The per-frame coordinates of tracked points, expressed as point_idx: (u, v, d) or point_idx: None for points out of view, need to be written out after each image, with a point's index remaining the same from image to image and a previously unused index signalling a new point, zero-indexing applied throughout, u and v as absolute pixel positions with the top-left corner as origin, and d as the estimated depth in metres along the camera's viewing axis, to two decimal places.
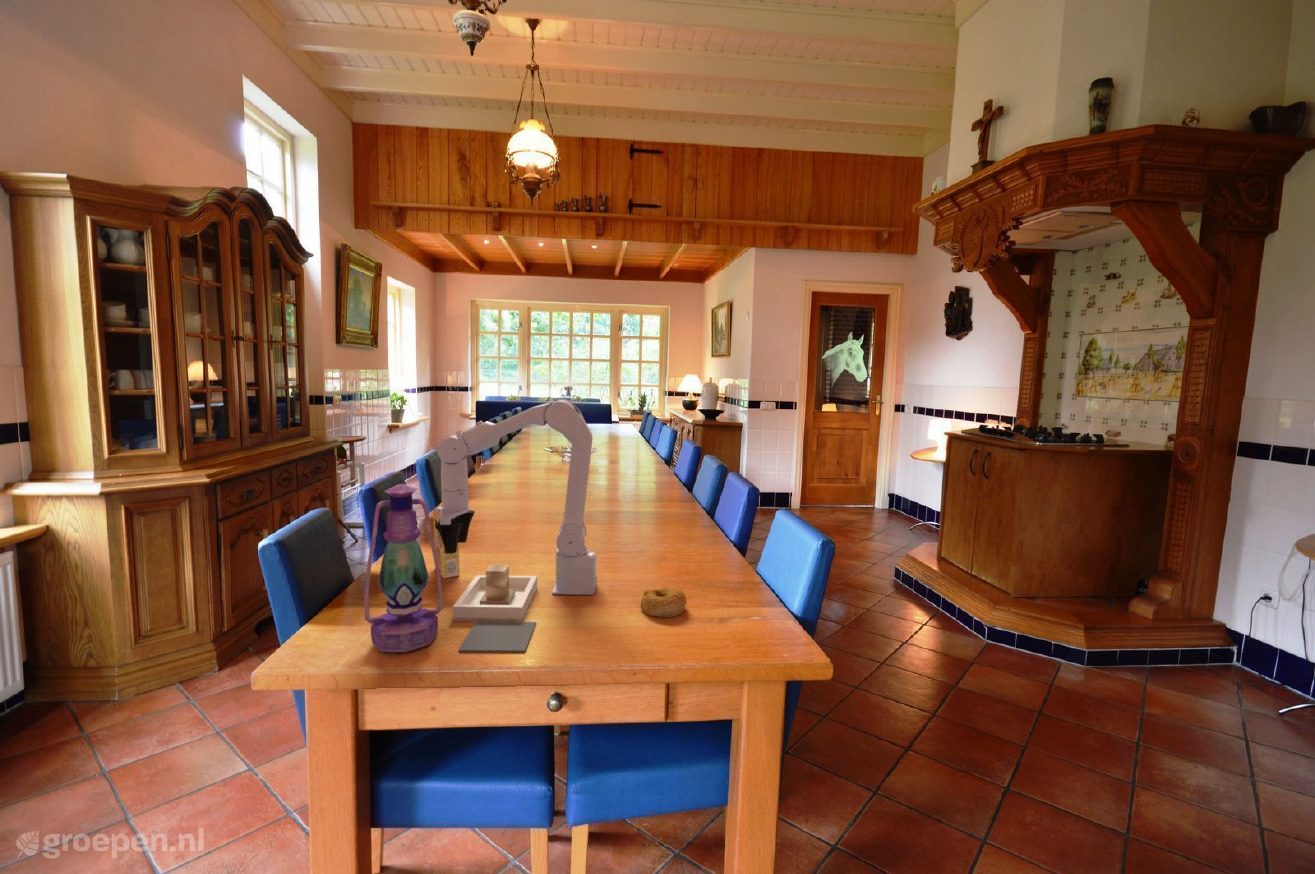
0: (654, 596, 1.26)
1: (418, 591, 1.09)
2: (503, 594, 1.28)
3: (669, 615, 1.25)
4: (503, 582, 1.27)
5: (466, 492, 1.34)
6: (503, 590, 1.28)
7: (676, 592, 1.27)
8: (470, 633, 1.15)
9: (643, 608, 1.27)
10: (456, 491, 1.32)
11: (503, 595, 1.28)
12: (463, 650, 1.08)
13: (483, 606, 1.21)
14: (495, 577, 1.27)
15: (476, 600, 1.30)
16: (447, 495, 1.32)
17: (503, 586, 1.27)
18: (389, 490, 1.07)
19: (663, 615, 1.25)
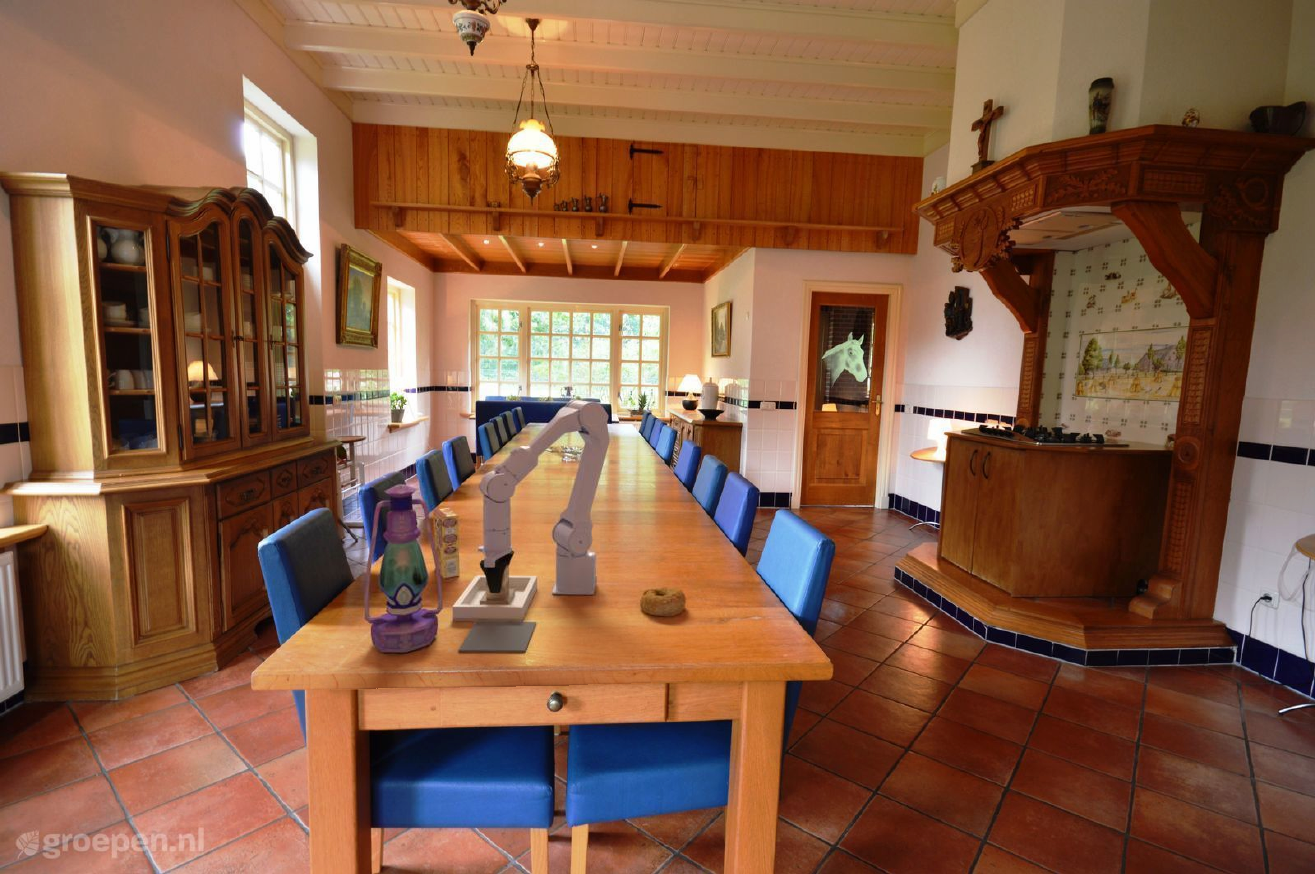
0: (654, 595, 1.27)
1: (418, 591, 1.09)
2: (503, 594, 1.28)
3: (669, 614, 1.25)
4: (503, 582, 1.27)
5: (509, 531, 1.27)
6: (503, 590, 1.28)
7: (675, 591, 1.28)
8: (470, 633, 1.15)
9: (643, 607, 1.27)
10: (499, 531, 1.25)
11: (503, 595, 1.28)
12: (463, 650, 1.08)
13: (483, 606, 1.21)
14: None
15: (476, 600, 1.30)
16: (489, 535, 1.25)
17: (503, 586, 1.27)
18: (389, 490, 1.07)
19: (663, 614, 1.25)
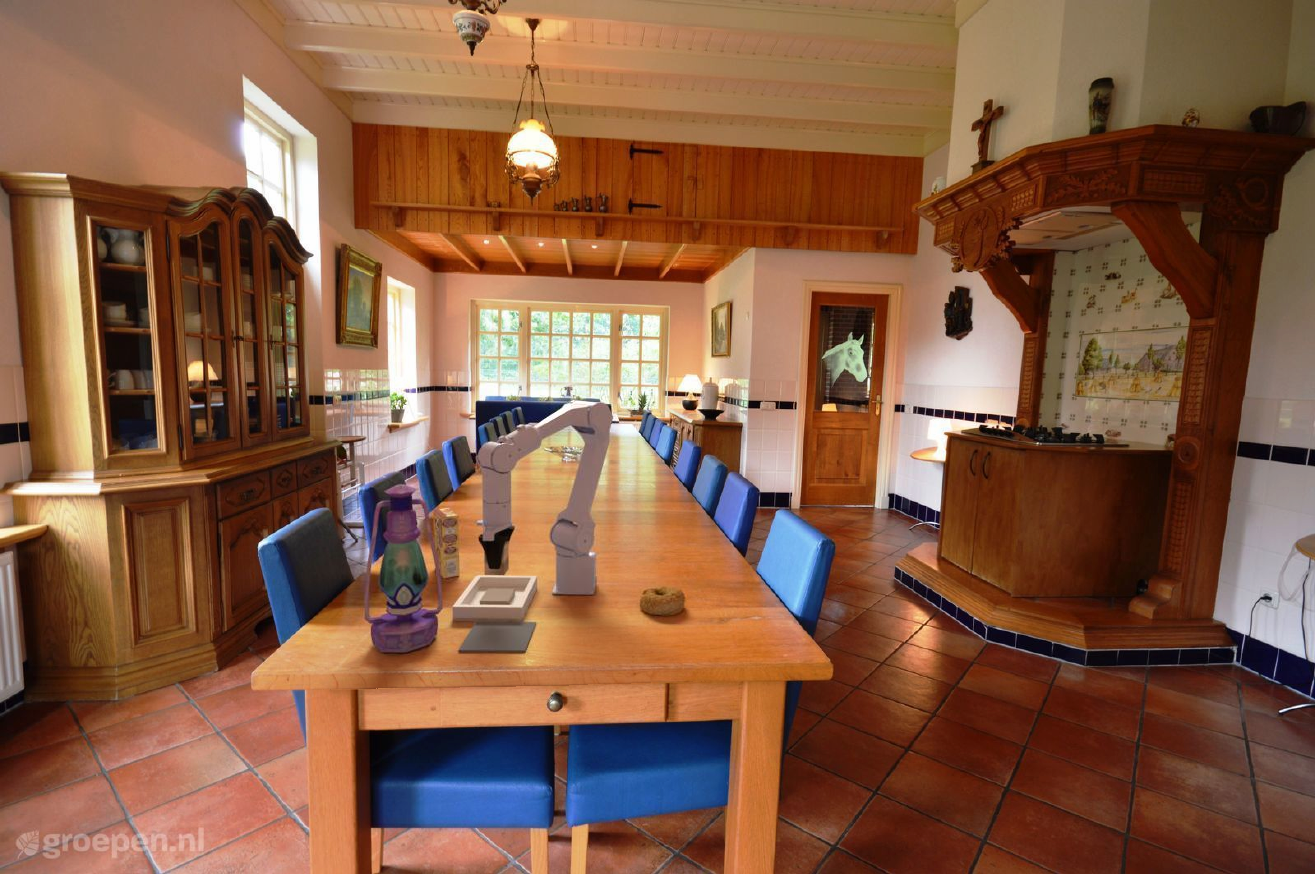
0: (653, 595, 1.27)
1: (418, 591, 1.09)
2: (502, 571, 1.22)
3: (668, 613, 1.26)
4: (502, 558, 1.22)
5: (509, 504, 1.22)
6: (502, 567, 1.22)
7: (675, 591, 1.28)
8: (470, 633, 1.15)
9: (642, 607, 1.28)
10: (499, 503, 1.20)
11: (502, 572, 1.22)
12: (463, 650, 1.08)
13: (483, 606, 1.21)
14: None
15: (476, 600, 1.30)
16: (489, 508, 1.20)
17: (502, 562, 1.22)
18: (389, 490, 1.07)
19: (662, 613, 1.25)
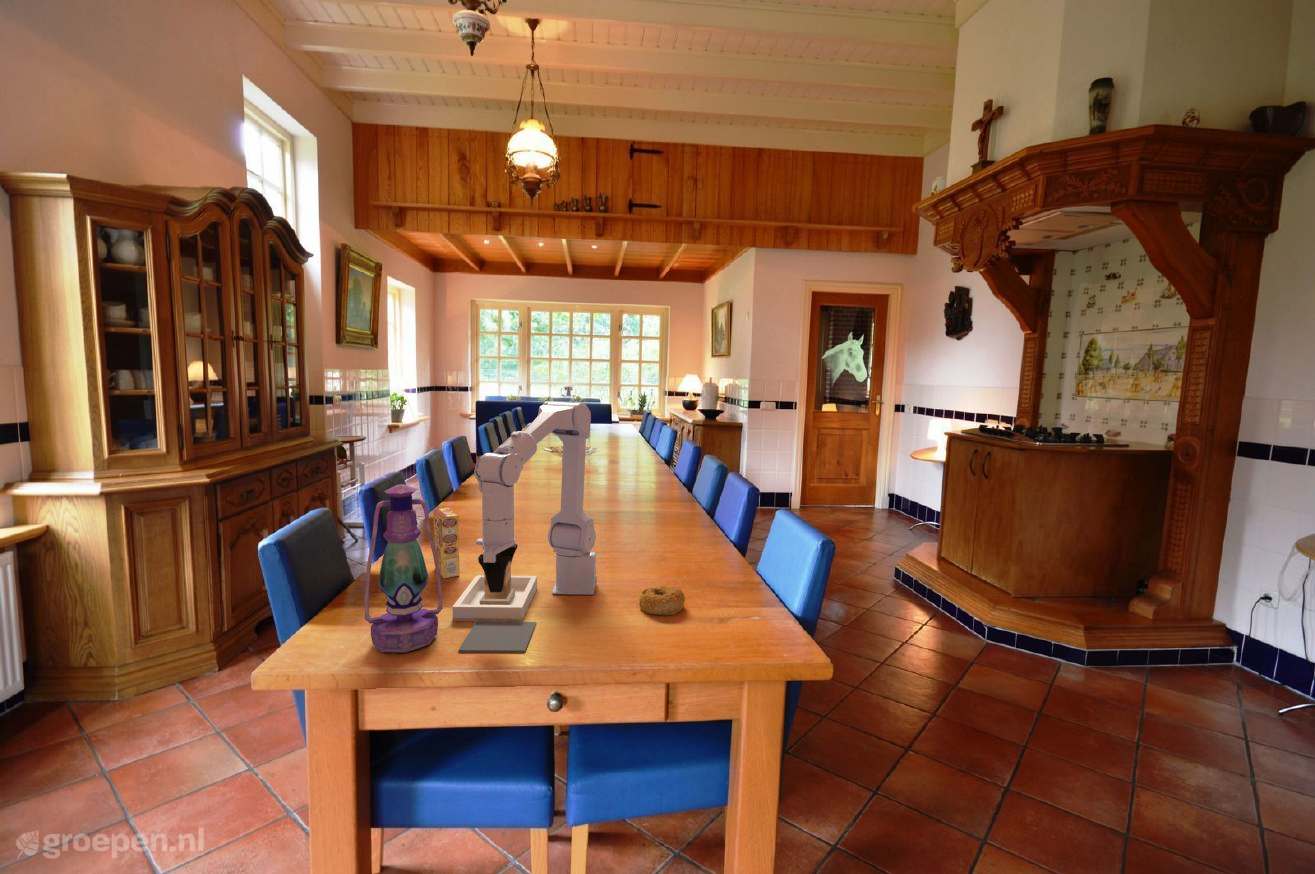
0: (653, 594, 1.27)
1: (418, 591, 1.09)
2: (504, 594, 1.11)
3: (668, 613, 1.26)
4: (504, 580, 1.11)
5: (512, 521, 1.11)
6: (504, 590, 1.11)
7: (675, 590, 1.28)
8: (470, 633, 1.15)
9: (642, 606, 1.28)
10: (501, 520, 1.09)
11: (504, 595, 1.11)
12: (463, 650, 1.08)
13: (483, 606, 1.21)
14: None
15: (476, 600, 1.30)
16: (489, 526, 1.09)
17: (504, 585, 1.11)
18: (389, 490, 1.07)
19: (662, 613, 1.26)
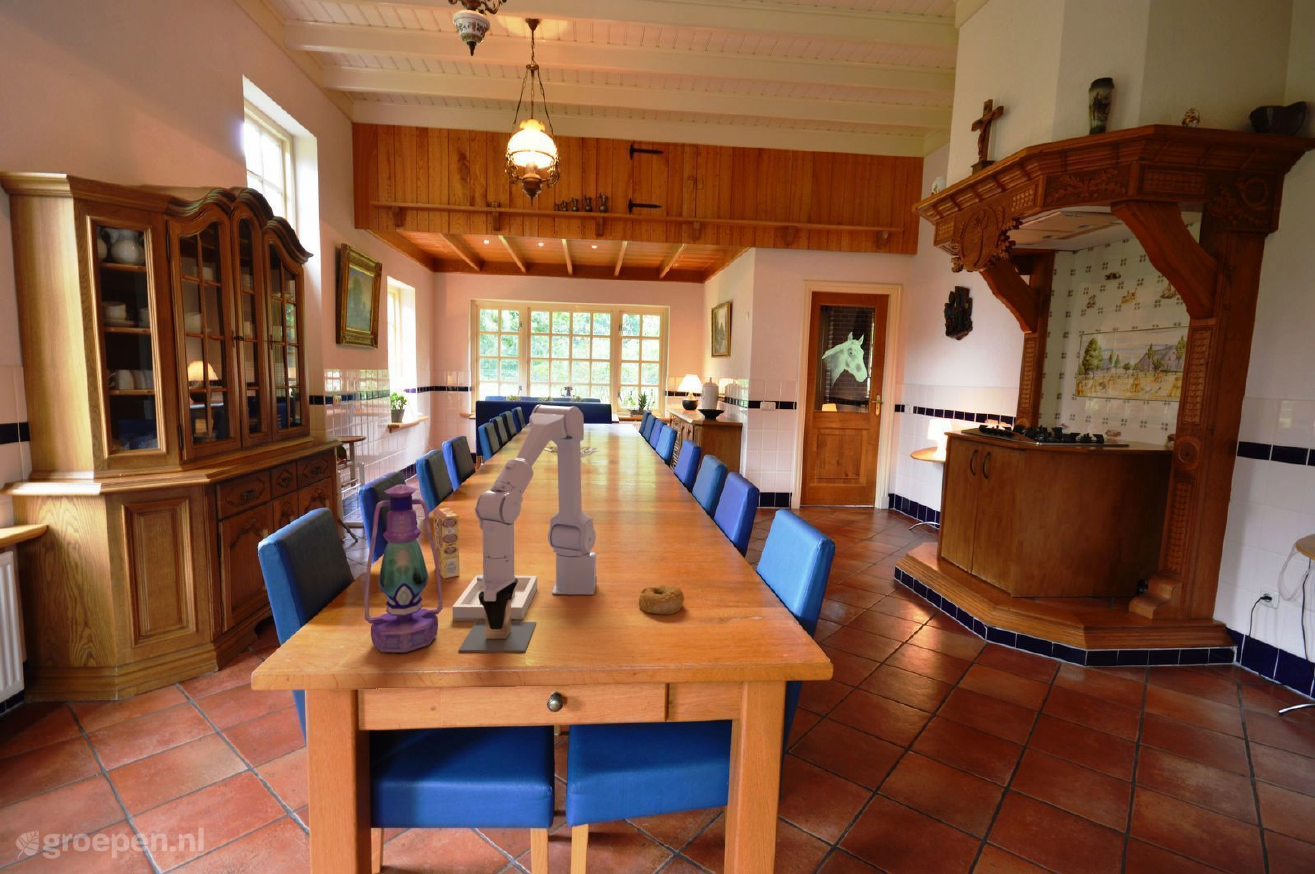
0: (652, 594, 1.28)
1: (418, 591, 1.09)
2: (504, 634, 1.12)
3: (667, 612, 1.26)
4: (504, 620, 1.12)
5: (512, 558, 1.12)
6: (504, 629, 1.12)
7: (674, 590, 1.28)
8: (470, 633, 1.15)
9: (641, 605, 1.28)
10: (501, 558, 1.10)
11: (504, 635, 1.12)
12: (463, 650, 1.08)
13: None
14: None
15: (476, 600, 1.30)
16: (490, 563, 1.10)
17: (504, 625, 1.12)
18: (389, 490, 1.07)
19: (661, 612, 1.26)
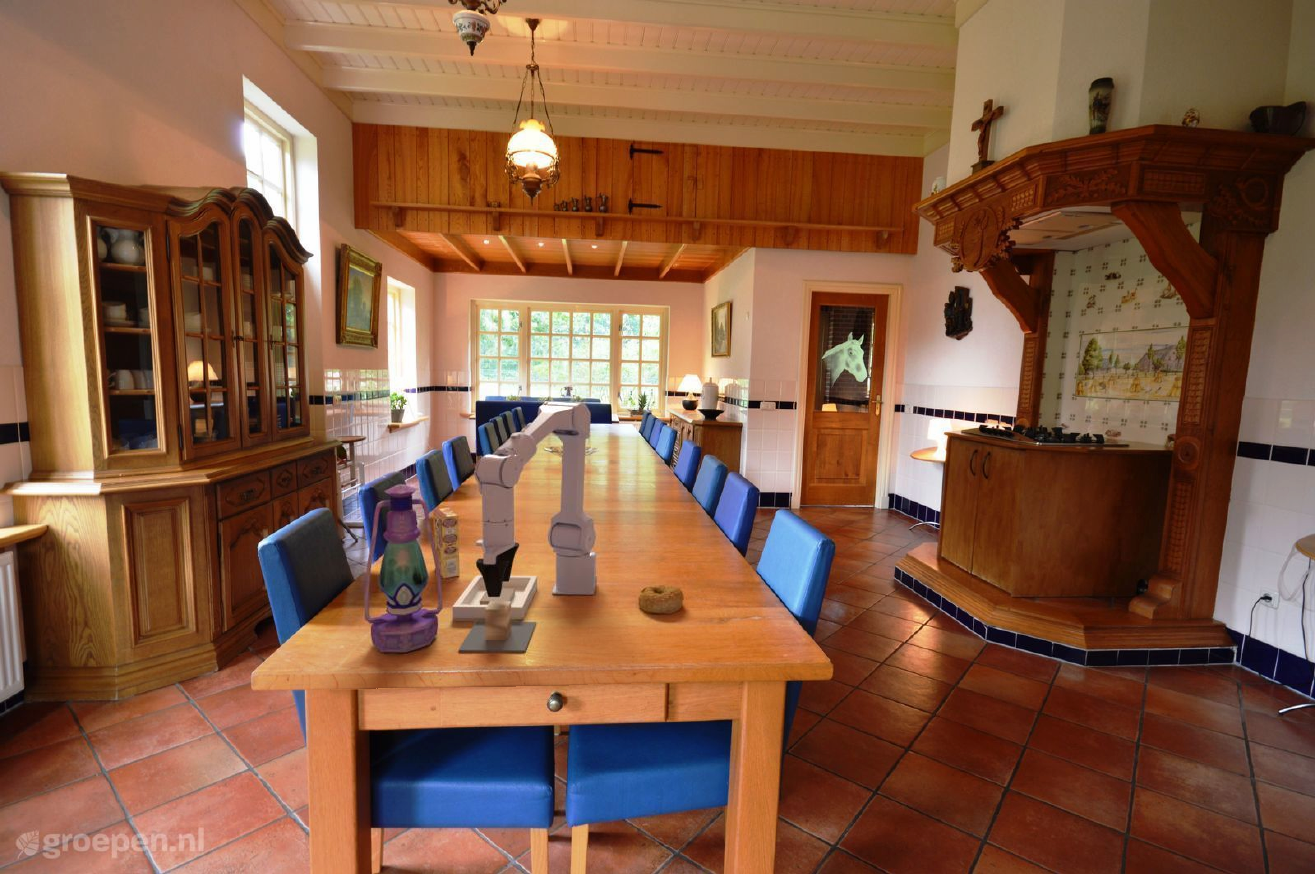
0: (652, 593, 1.28)
1: (418, 591, 1.09)
2: (505, 635, 1.12)
3: (666, 612, 1.26)
4: (505, 622, 1.12)
5: (512, 523, 1.11)
6: (505, 631, 1.12)
7: (673, 589, 1.29)
8: (470, 633, 1.15)
9: (641, 605, 1.29)
10: (501, 522, 1.09)
11: (505, 636, 1.12)
12: (463, 650, 1.08)
13: (483, 606, 1.21)
14: (495, 617, 1.12)
15: (476, 600, 1.30)
16: (489, 527, 1.09)
17: (505, 626, 1.12)
18: (389, 490, 1.07)
19: (660, 612, 1.26)
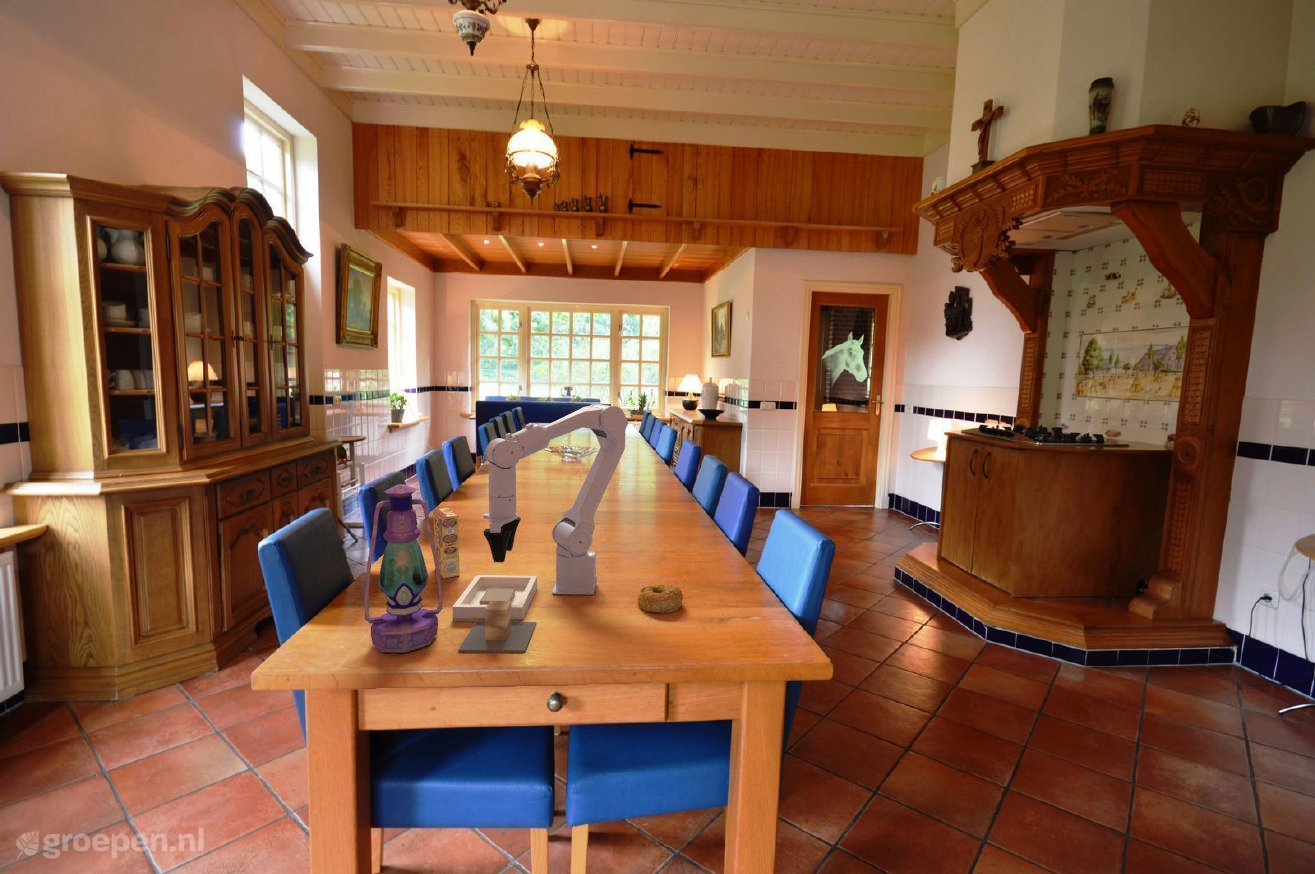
0: (651, 592, 1.28)
1: (418, 591, 1.09)
2: (505, 635, 1.12)
3: (666, 611, 1.27)
4: (505, 622, 1.12)
5: (515, 498, 1.28)
6: (505, 631, 1.12)
7: (673, 588, 1.29)
8: (470, 633, 1.15)
9: (640, 604, 1.29)
10: (505, 497, 1.26)
11: (505, 636, 1.12)
12: (463, 650, 1.08)
13: (483, 606, 1.21)
14: (495, 617, 1.12)
15: (476, 600, 1.30)
16: (495, 502, 1.26)
17: (505, 626, 1.12)
18: (389, 490, 1.06)
19: (660, 611, 1.27)
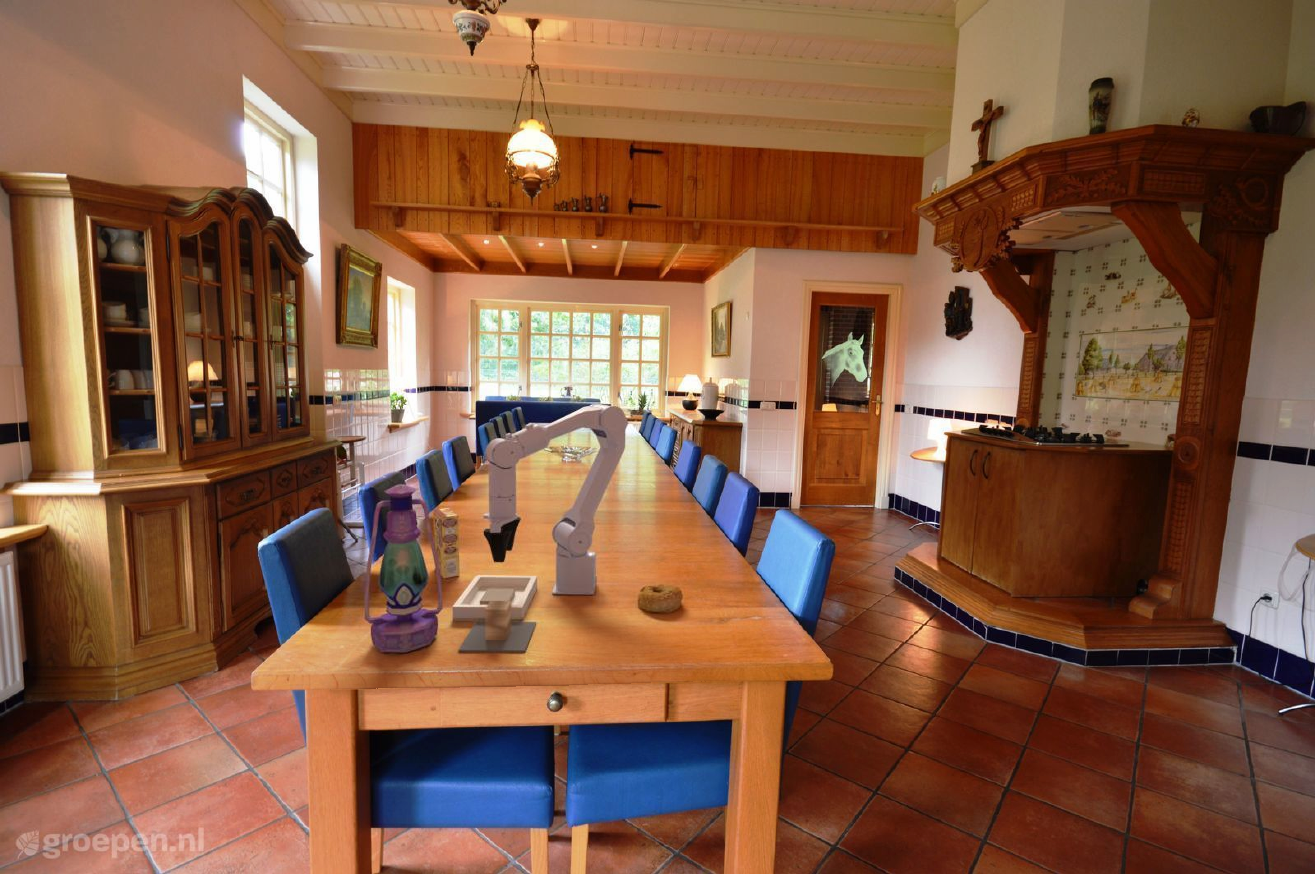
0: (651, 592, 1.29)
1: (418, 591, 1.09)
2: (505, 635, 1.12)
3: (666, 611, 1.27)
4: (505, 622, 1.12)
5: (515, 498, 1.28)
6: (505, 631, 1.12)
7: (672, 588, 1.29)
8: (470, 633, 1.15)
9: (640, 604, 1.29)
10: (505, 497, 1.26)
11: (505, 636, 1.12)
12: (463, 650, 1.08)
13: (483, 606, 1.21)
14: (495, 617, 1.12)
15: (476, 600, 1.30)
16: (495, 502, 1.26)
17: (505, 626, 1.12)
18: (389, 490, 1.07)
19: (660, 611, 1.27)
